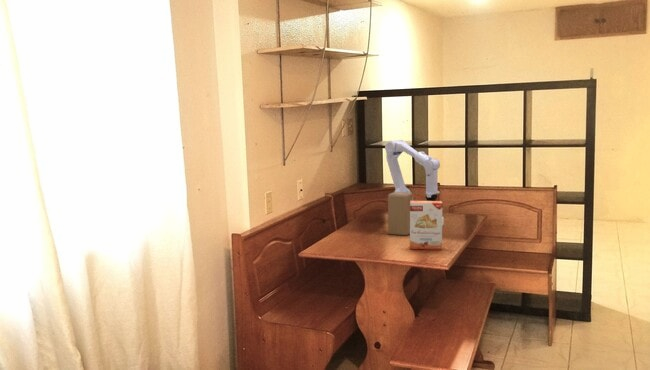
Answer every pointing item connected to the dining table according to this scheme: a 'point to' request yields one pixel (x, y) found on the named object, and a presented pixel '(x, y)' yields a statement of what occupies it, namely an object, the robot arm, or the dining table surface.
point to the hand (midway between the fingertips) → (431, 209)
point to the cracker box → (426, 225)
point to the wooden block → (399, 213)
